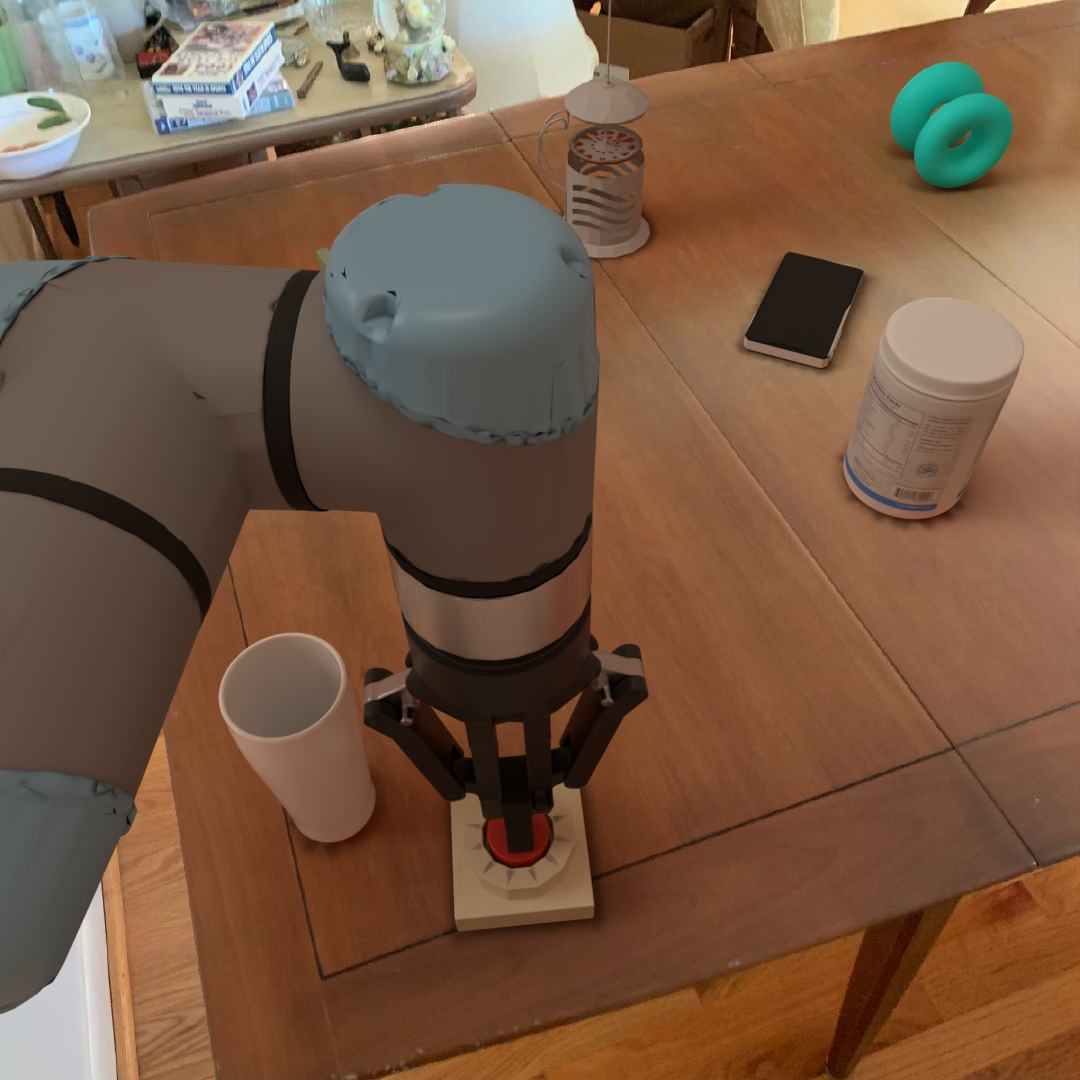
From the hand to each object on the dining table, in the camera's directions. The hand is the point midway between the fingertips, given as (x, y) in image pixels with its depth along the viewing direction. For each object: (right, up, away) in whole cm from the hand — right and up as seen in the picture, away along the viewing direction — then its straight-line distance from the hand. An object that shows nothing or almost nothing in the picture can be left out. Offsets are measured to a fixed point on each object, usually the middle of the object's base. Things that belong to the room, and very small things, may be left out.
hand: (519, 829), depth 56 cm
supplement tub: (+30, +21, +23) cm, 43 cm away
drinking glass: (-12, 0, +6) cm, 13 cm away
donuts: (+45, +58, +52) cm, 90 cm away
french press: (+7, +49, +46) cm, 67 cm away
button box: (0, -3, +4) cm, 5 cm away
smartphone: (+26, +38, +36) cm, 59 cm away
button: (0, -1, +2) cm, 2 cm away
